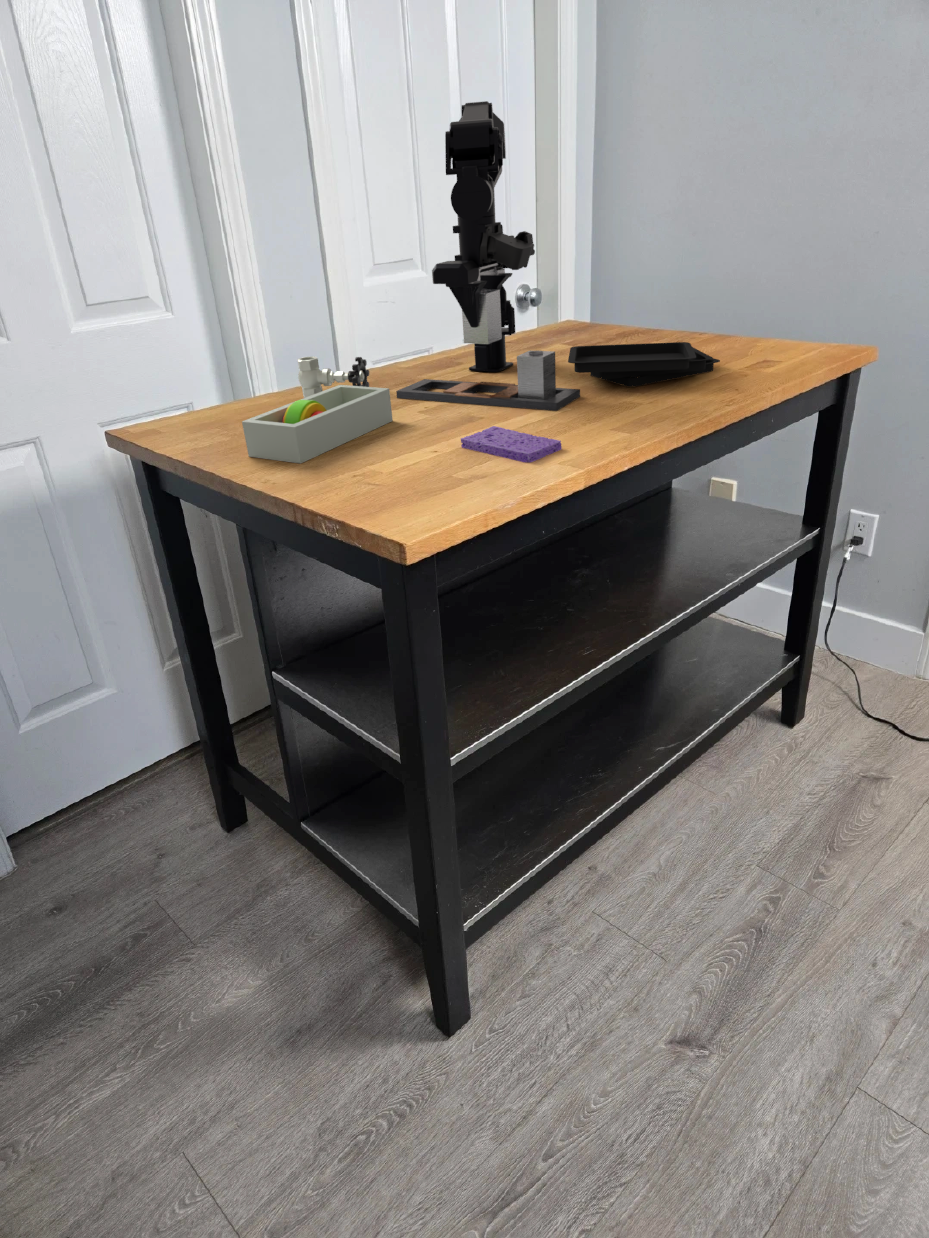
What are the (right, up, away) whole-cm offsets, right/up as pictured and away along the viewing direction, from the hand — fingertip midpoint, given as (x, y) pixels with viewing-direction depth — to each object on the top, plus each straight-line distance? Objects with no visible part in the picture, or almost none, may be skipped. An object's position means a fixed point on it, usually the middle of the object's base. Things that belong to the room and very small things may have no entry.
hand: (482, 324), depth 133 cm
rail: (+1, -10, +5) cm, 12 cm away
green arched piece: (-23, -21, -10) cm, 33 cm away
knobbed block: (0, -2, +1) cm, 2 cm away
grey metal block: (+9, -12, +1) cm, 15 cm away
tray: (+28, -6, +10) cm, 31 cm away
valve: (-26, -8, +14) cm, 31 cm away
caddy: (-24, -20, -10) cm, 33 cm away
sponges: (+3, -25, -20) cm, 32 cm away
